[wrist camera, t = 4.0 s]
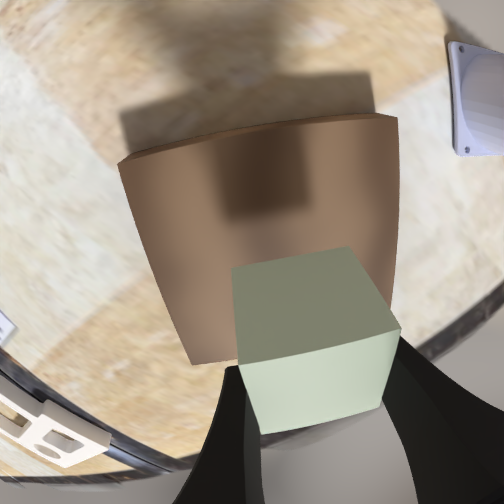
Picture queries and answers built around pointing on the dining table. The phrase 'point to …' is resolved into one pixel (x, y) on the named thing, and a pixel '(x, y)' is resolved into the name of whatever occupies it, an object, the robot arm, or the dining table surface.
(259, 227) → the walnut base
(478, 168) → the dining table surface
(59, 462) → the holder
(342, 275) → the sage block
